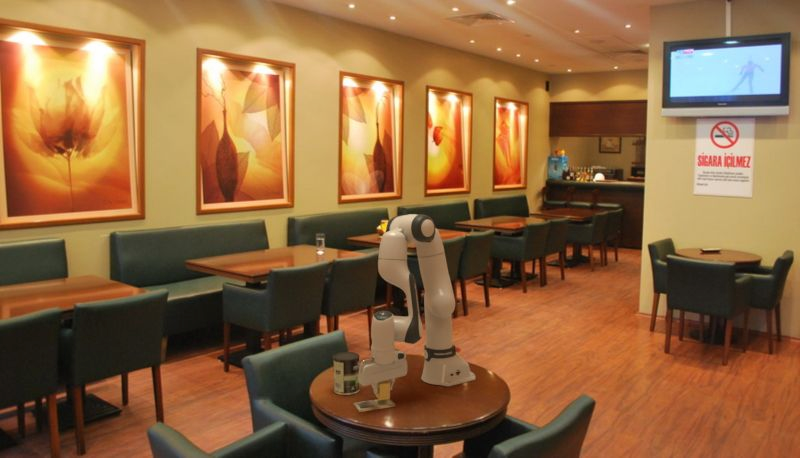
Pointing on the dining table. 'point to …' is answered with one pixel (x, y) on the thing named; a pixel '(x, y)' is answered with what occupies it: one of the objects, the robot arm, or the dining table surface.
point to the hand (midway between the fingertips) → (382, 391)
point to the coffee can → (346, 373)
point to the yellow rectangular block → (383, 390)
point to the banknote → (373, 405)
